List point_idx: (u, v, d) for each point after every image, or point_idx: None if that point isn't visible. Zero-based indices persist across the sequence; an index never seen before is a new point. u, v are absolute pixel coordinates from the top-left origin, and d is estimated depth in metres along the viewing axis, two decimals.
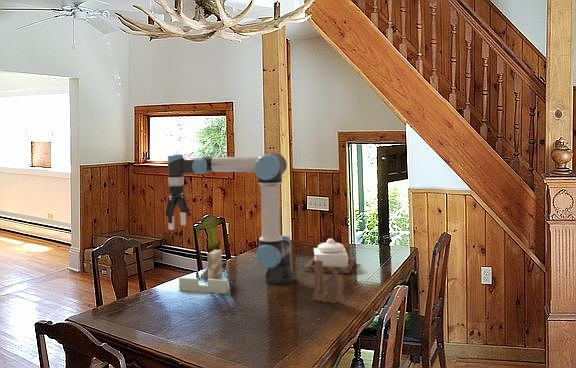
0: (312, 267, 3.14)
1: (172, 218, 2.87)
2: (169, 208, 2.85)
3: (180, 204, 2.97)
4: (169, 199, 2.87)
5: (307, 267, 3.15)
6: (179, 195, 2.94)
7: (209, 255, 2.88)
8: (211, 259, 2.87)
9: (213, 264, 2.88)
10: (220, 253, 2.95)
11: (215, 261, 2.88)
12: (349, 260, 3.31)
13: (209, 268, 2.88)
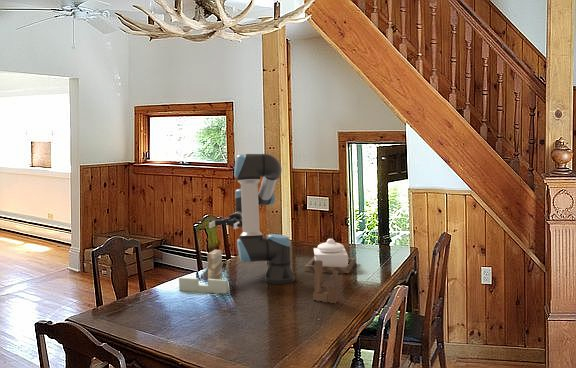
0: (312, 267, 3.14)
1: (213, 221, 3.09)
2: None
3: (236, 222, 3.11)
4: None
5: (307, 267, 3.15)
6: None
7: (209, 255, 2.88)
8: (211, 259, 2.87)
9: (213, 264, 2.88)
10: (220, 253, 2.95)
11: (215, 261, 2.88)
12: (349, 260, 3.31)
13: (209, 268, 2.88)
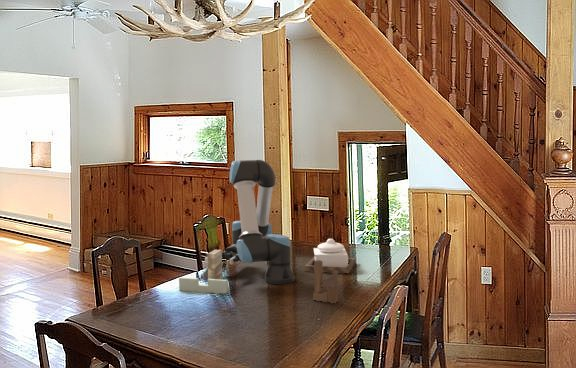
0: (312, 267, 3.14)
1: None
2: None
3: (232, 256, 3.08)
4: None
5: (307, 267, 3.15)
6: None
7: (209, 255, 2.88)
8: (211, 259, 2.87)
9: (213, 264, 2.88)
10: (220, 253, 2.95)
11: (215, 261, 2.88)
12: (349, 260, 3.31)
13: (209, 268, 2.88)
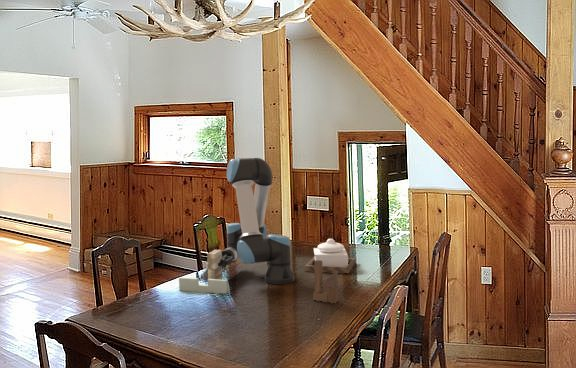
0: (312, 267, 3.14)
1: None
2: None
3: None
4: None
5: (307, 267, 3.15)
6: (227, 255, 3.05)
7: (209, 255, 2.88)
8: (211, 259, 2.87)
9: (213, 264, 2.88)
10: (220, 253, 2.95)
11: (215, 261, 2.88)
12: (349, 260, 3.31)
13: (209, 268, 2.88)
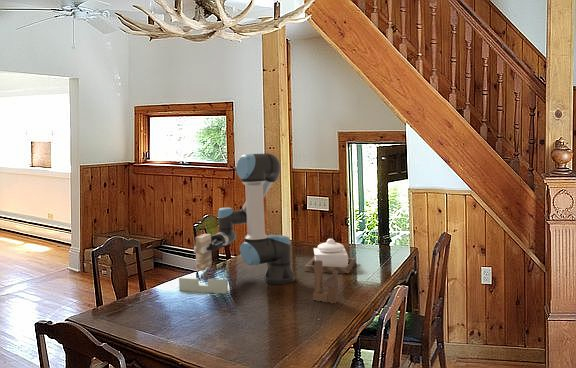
0: (312, 267, 3.14)
1: None
2: None
3: None
4: None
5: (307, 267, 3.15)
6: (218, 240, 2.95)
7: (197, 239, 2.77)
8: (200, 243, 2.77)
9: (201, 248, 2.77)
10: (209, 237, 2.85)
11: (203, 245, 2.78)
12: (349, 260, 3.31)
13: (197, 252, 2.78)
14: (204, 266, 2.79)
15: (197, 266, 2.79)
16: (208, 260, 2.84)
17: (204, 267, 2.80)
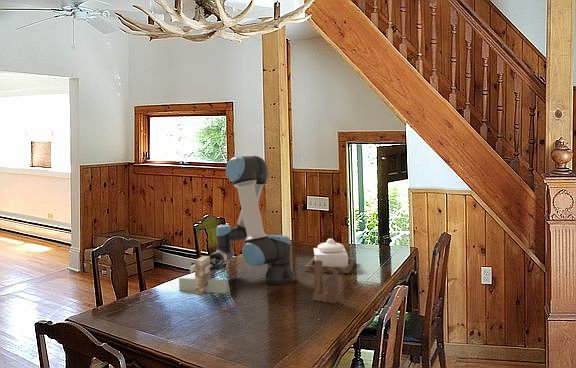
0: (312, 267, 3.14)
1: (194, 264, 2.80)
2: None
3: None
4: None
5: (307, 267, 3.15)
6: (216, 259, 2.90)
7: (196, 262, 2.73)
8: (199, 267, 2.73)
9: (201, 271, 2.73)
10: (208, 260, 2.81)
11: (202, 268, 2.74)
12: (349, 260, 3.31)
13: (196, 275, 2.74)
14: (203, 289, 2.75)
15: (196, 289, 2.75)
16: (207, 283, 2.80)
17: (204, 291, 2.76)
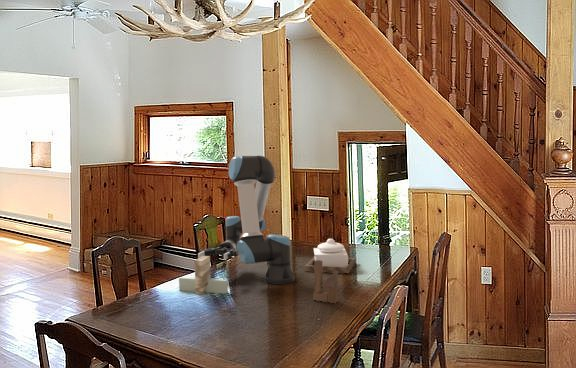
0: (312, 267, 3.14)
1: (202, 252, 2.96)
2: None
3: (226, 252, 2.99)
4: None
5: (307, 267, 3.15)
6: None
7: (196, 262, 2.73)
8: (199, 267, 2.73)
9: (201, 271, 2.73)
10: (208, 260, 2.81)
11: (202, 268, 2.74)
12: (349, 260, 3.31)
13: (196, 275, 2.74)
14: (203, 289, 2.75)
15: (196, 289, 2.75)
16: (207, 283, 2.80)
17: (204, 291, 2.76)
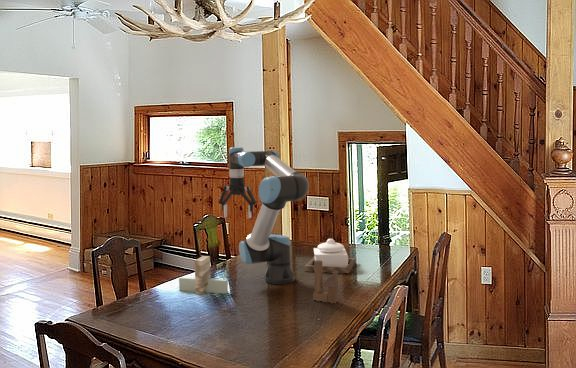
0: (312, 267, 3.14)
1: (223, 206, 3.07)
2: None
3: None
4: None
5: (307, 267, 3.15)
6: (238, 187, 3.04)
7: (196, 262, 2.73)
8: (199, 267, 2.73)
9: (201, 271, 2.73)
10: (208, 260, 2.81)
11: (202, 268, 2.74)
12: (349, 260, 3.31)
13: (196, 275, 2.74)
14: (203, 289, 2.75)
15: (196, 289, 2.75)
16: (207, 283, 2.80)
17: (204, 291, 2.76)
